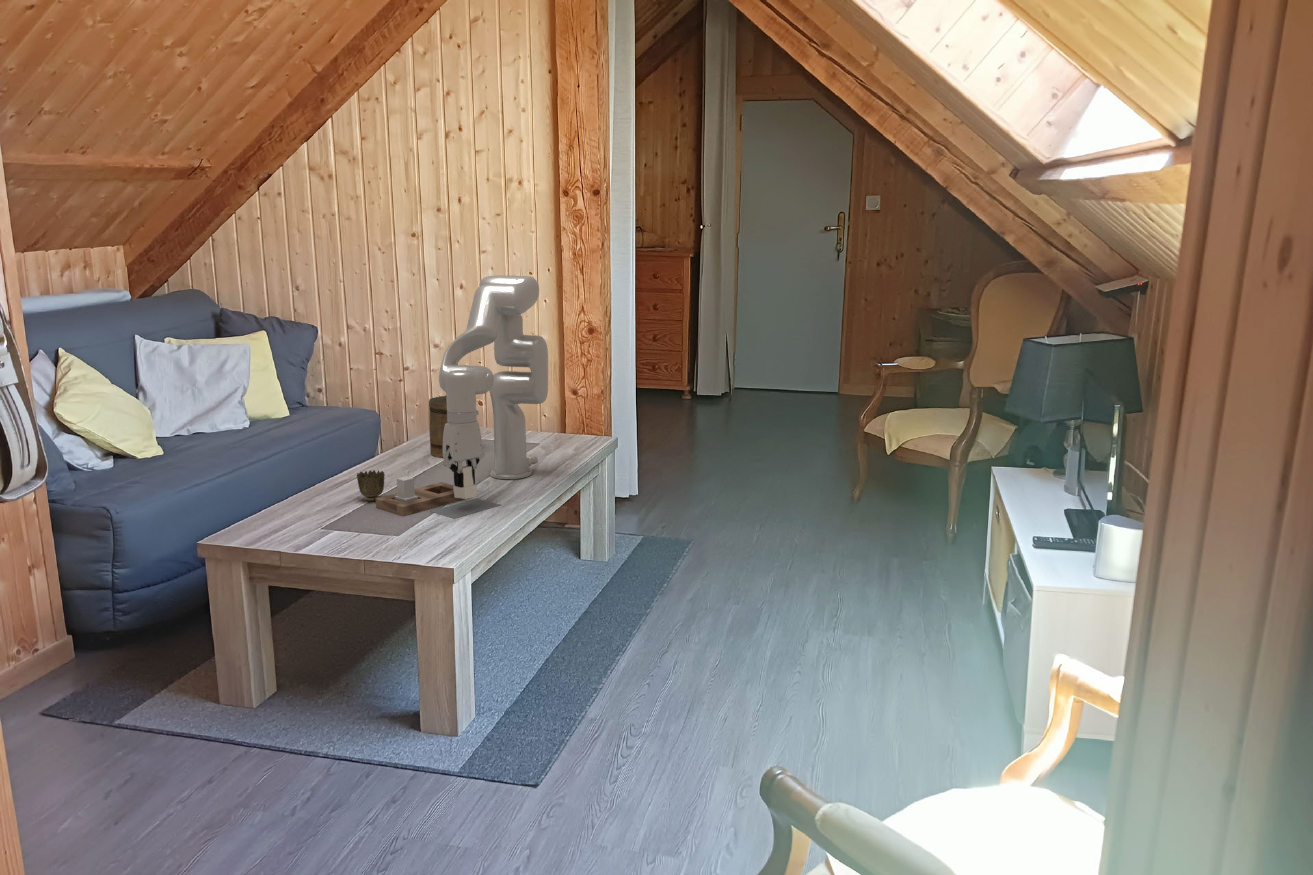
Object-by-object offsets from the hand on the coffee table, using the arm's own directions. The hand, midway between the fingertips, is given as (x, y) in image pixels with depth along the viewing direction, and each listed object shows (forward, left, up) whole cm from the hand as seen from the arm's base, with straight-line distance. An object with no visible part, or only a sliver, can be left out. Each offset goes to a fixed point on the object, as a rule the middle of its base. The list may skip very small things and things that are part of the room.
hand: (464, 484), depth 264 cm
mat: (0, 0, -7) cm, 7 cm away
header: (+4, -13, -7) cm, 15 cm away
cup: (+11, -27, -7) cm, 30 cm away
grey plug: (+9, -13, -7) cm, 17 cm away
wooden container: (-40, -55, -7) cm, 68 cm away
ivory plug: (0, 0, -3) cm, 3 cm away
